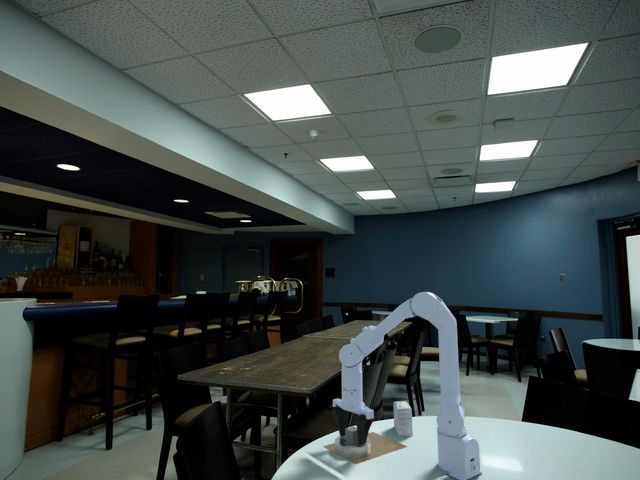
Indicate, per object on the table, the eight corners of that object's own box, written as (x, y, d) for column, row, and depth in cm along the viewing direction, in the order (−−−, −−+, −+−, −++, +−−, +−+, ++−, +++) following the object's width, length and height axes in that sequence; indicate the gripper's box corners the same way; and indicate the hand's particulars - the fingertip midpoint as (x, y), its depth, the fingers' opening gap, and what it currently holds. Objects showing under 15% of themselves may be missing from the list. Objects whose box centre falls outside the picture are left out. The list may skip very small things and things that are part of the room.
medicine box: (413, 438, 119) (412, 408, 120) (398, 438, 119) (397, 408, 120) (407, 429, 127) (407, 401, 128) (393, 429, 127) (393, 401, 128)
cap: (367, 450, 108) (367, 429, 109) (352, 456, 105) (352, 434, 105) (353, 444, 112) (353, 424, 113) (338, 449, 109) (338, 428, 110)
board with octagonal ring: (407, 449, 111) (407, 437, 111) (355, 467, 100) (355, 453, 100) (372, 434, 122) (372, 423, 122) (323, 449, 111) (322, 436, 111)
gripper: (381, 391, 107) (382, 444, 106) (345, 381, 118) (345, 429, 117) (362, 395, 103) (363, 451, 101) (327, 384, 114) (327, 434, 113)
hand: (352, 439), depth 109 cm, fingers open, 7 cm apart
